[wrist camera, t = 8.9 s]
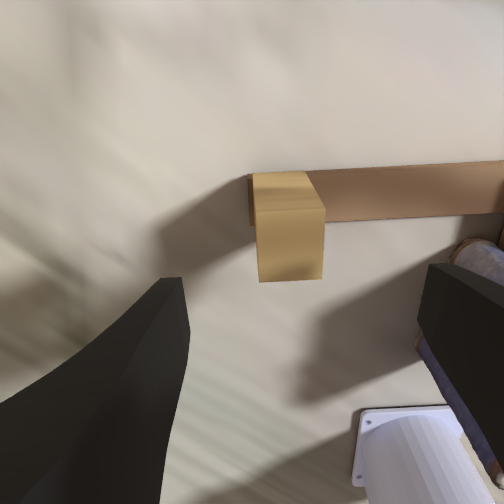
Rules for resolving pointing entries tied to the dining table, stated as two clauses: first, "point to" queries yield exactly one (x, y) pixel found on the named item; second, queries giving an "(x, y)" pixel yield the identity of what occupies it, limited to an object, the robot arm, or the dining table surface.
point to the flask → (493, 268)
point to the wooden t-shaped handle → (357, 206)
